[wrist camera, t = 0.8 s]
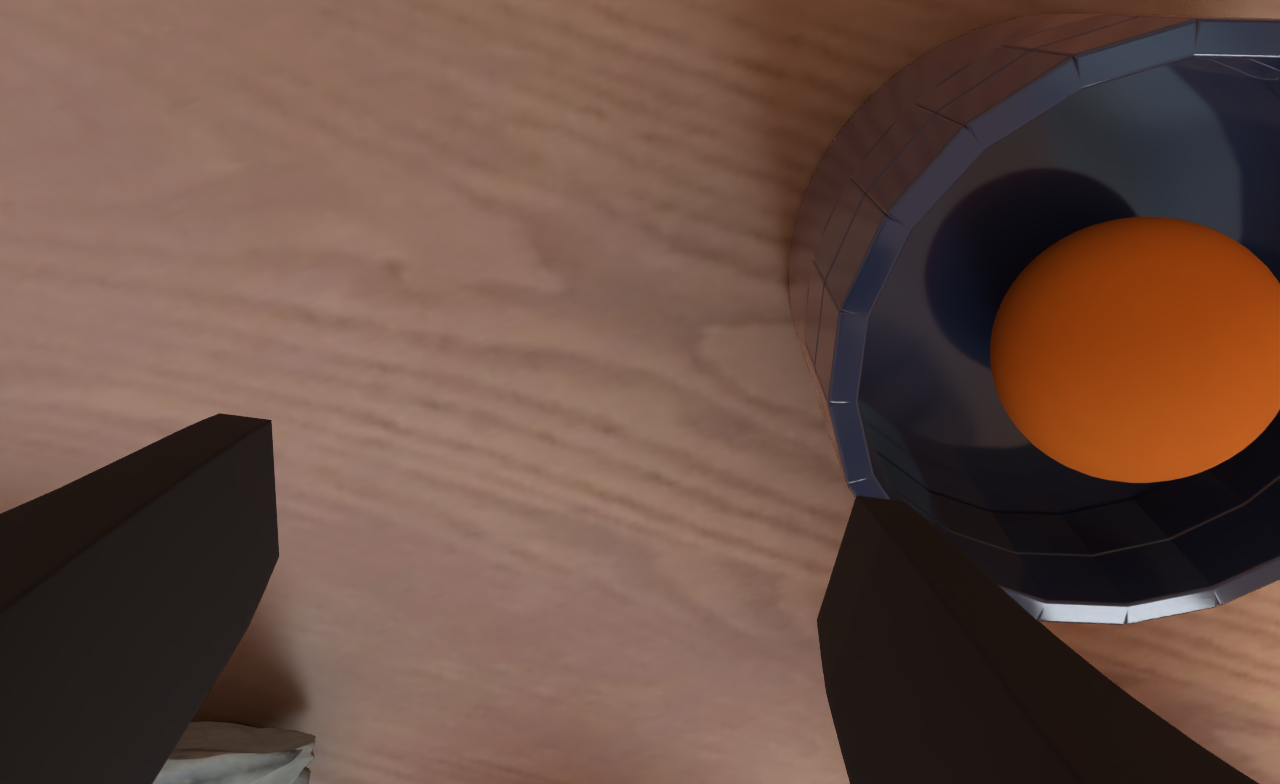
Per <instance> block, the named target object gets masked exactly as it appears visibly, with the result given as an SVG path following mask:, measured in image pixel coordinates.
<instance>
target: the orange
mask: <svg viewBox="0 0 1280 784" xmlns="http://www.w3.org/2000/svg"><path fill="white" fill-rule="evenodd" d="M990 364H991V372H992V377H993V380H994V384H995V387H996V391H997V394H998V397H999V399H1000V401H1001V403H1002V405H1003V407H1004V409H1005V411H1006V412H1007V414H1008V416H1009V417H1010V419H1011V420H1012V422H1013V423H1014V424H1015V426H1016V427H1017V429H1018V430H1019V431H1020V432H1021V433H1022V434H1023V435H1024V436H1025V437H1026V438H1027V439H1028V440H1029V441H1030V442H1031V443H1032V444H1033V445H1034V446H1035V447H1037V448H1038V449H1039V450H1041V451H1042V452H1043V453H1045V454H1046V455H1048V456H1049V457H1051V458H1052V459H1054V460H1056V461H1057V462H1059V463H1061V464H1063V465H1065V466H1066V467H1069V468H1071V469H1074V470H1077V471H1079V472H1082V473H1084V474H1087V475H1090V476H1093V477H1097V478H1101V479H1106V480H1112V481H1120V482H1129V483H1150V482H1160V481H1169V480H1175V479H1179V478H1184V477H1188V476H1191V475H1194V474H1197V473H1200V472H1203V471H1205V470H1207V469H1210V468H1212V467H1215V466H1216V465H1218V464H1220V463H1222V462H1224V461H1226V460H1228V459H1229V458H1231V457H1233V456H1234V455H1236V454H1237V453H1239V452H1240V451H1242V450H1243V449H1244V448H1246V447H1247V446H1248V445H1249V444H1250V443H1252V442H1253V441H1254V440H1255V439H1256V438H1257V437H1258V436H1259V435H1260V434H1261V433H1262V432H1263V431H1264V430H1265V429H1266V428H1267V426H1268V425H1269V424H1270V423H1271V421H1272V420H1273V419H1274V417H1275V416H1276V415H1277V413H1278V411H1279V410H1280V284H1279V282H1278V280H1277V279H1276V277H1275V276H1274V275H1273V274H1272V272H1271V271H1270V270H1269V268H1268V267H1267V266H1266V265H1265V264H1264V263H1263V262H1262V261H1261V260H1260V259H1258V258H1257V257H1256V256H1255V255H1254V254H1253V253H1252V252H1251V251H1250V250H1248V249H1247V248H1246V247H1244V246H1243V245H1241V244H1240V243H1238V242H1236V241H1235V240H1233V239H1232V238H1230V237H1228V236H1226V235H1225V234H1223V233H1220V232H1218V231H1216V230H1214V229H1211V228H1209V227H1206V226H1203V225H1199V224H1196V223H1192V222H1188V221H1185V220H1181V219H1173V218H1165V217H1130V218H1122V219H1116V220H1111V221H1107V222H1103V223H1099V224H1095V225H1092V226H1089V227H1086V228H1084V229H1081V230H1079V231H1076V232H1074V233H1072V234H1070V235H1068V236H1066V237H1064V238H1062V239H1061V240H1059V241H1058V242H1056V243H1055V244H1053V245H1052V246H1050V247H1048V248H1047V249H1046V250H1044V251H1043V252H1042V253H1041V254H1039V255H1038V256H1037V257H1036V258H1035V259H1033V260H1032V261H1031V262H1030V263H1029V264H1028V265H1027V266H1026V267H1025V268H1024V269H1023V271H1022V272H1021V273H1020V274H1019V275H1018V277H1017V278H1016V279H1015V281H1014V282H1013V283H1012V285H1011V287H1010V288H1009V290H1008V292H1007V293H1006V295H1005V296H1004V298H1003V300H1002V303H1001V305H1000V307H999V309H998V311H997V314H996V318H995V321H994V324H993V328H992V335H991V342H990Z"/></svg>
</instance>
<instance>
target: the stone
mask: <svg viewBox="0 0 1280 784" xmlns="http://www.w3.org/2000/svg"><path fill="white" fill-rule="evenodd" d="M315 738H316V737H315V736H313V735H311V734H307V733H302V732H299V731H294V730H284V729H279V728H262V729H260V728H255V727H249V726H245V725H241V724H235V723H226V722H214V721H201V722H190V724H189V725H188V727H187V729H186V730H185V732H184V733H183V735H182V737H181V738H180V740H179V742H178V743H177V745H176V746H175V748H174V750H173V751H172V753H171V755H170V756H169V758H168V759H167V761H166V763H165V764H164V766H163V768H162V769H161V771H160V772H159V774H158V776H157V777H156V779H155V780H154V782H153V784H308V783H309V779H310V770H309V768H307V767H306V766H307V765H308V764H309V763H310V762H311V760H312V759H313V758H314V757H315V756H314V753H313V751H312V748H313V746H314V744H315Z"/></svg>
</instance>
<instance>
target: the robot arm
mask: <svg viewBox="0 0 1280 784" xmlns="http://www.w3.org/2000/svg"><path fill="white" fill-rule="evenodd" d="M278 558H279V546H278V528H277V510H276V493H275V475H274V458H273V440H272V423H271V420H267V419H259V418H251V417H243V416H236V415H228V414H217V415H214V416H212V417H209V418H207V419H204V420H202V421H199V422H197V423H195V424H193V425H190V426H188V427H186V428H184V429H182V430H180V431H177V432H175V433H173V434H171V435H169V436H167V437H165V438H163V439H161V440H159V441H157V442H154V443H152V444H150V445H148V446H146V447H144V448H142V449H140V450H138V451H136V452H134V453H132V454H130V455H128V456H126V457H124V458H121V459H119V460H117V461H115V462H113V463H111V464H109V465H107V466H105V467H103V468H101V469H98V470H96V471H94V472H92V473H90V474H88V475H86V476H84V477H82V478H80V479H78V480H76V481H73V482H71V483H69V484H67V485H65V486H63V487H61V488H59V489H56V490H54V491H52V492H50V493H47V494H45V495H43V496H40V497H38V498H36V499H34V500H31V501H29V502H27V503H24V504H22V505H20V506H18V507H15V508H13V509H11V510H8V511H6V512H4V513H1V514H0V784H153V782H154V780H155V779H156V777H157V776H158V774H159V772H160V771H161V769H162V768H163V766H164V764H165V763H166V761H167V759H168V758H169V756H170V755H171V753H172V751H173V750H174V748H175V746H176V745H177V743H178V742H179V740H180V738H181V737H182V735H183V733H184V732H185V730H186V729H187V727H188V725H189V724H190V722H191V721H192V719H193V717H194V716H195V714H196V712H197V711H198V709H199V708H200V706H201V704H202V703H203V701H204V699H205V698H206V696H207V695H208V693H209V691H210V690H211V688H212V687H213V685H214V683H215V682H216V680H217V678H218V677H219V675H220V673H221V672H222V670H223V668H224V667H225V665H226V663H227V662H228V660H229V658H230V657H231V655H232V654H233V652H234V650H235V649H236V647H237V645H238V644H239V642H240V640H241V638H242V637H243V635H244V633H245V632H246V630H247V628H248V626H249V624H250V622H251V620H252V617H253V615H254V613H255V611H256V609H257V607H258V604H259V602H260V600H261V598H262V596H263V593H264V591H265V588H266V586H267V584H268V581H269V579H270V577H271V574H272V572H273V569H274V567H275V565H276V562H277V560H278ZM817 625H818V634H819V642H820V651H821V660H822V667H823V674H824V681H825V688H826V694H827V698H828V702H829V706H830V710H831V714H832V718H833V721H834V725H835V729H836V733H837V737H838V740H839V744H840V748H841V752H842V755H843V759H844V763H845V766H846V770H847V774H848V777H849V781H850V784H1259V783H1257V782H1256V781H1254V780H1252V779H1251V778H1249V777H1248V776H1246V775H1244V774H1243V773H1241V772H1240V771H1238V770H1236V769H1235V768H1233V767H1232V766H1230V765H1229V764H1227V763H1226V762H1224V761H1223V760H1221V759H1220V758H1218V757H1217V756H1215V755H1214V754H1212V753H1211V752H1209V751H1208V750H1206V749H1205V748H1203V747H1202V746H1200V745H1199V744H1197V743H1196V742H1194V741H1193V740H1192V739H1190V738H1189V737H1187V736H1186V735H1185V734H1183V733H1182V732H1180V731H1179V730H1178V729H1176V728H1175V727H1173V726H1172V725H1171V724H1169V723H1168V722H1166V721H1165V720H1164V719H1162V718H1161V717H1159V716H1158V715H1157V714H1155V713H1154V712H1152V711H1151V710H1150V709H1148V708H1147V707H1145V706H1144V705H1143V704H1141V703H1140V702H1138V701H1137V700H1136V699H1134V698H1133V697H1132V696H1130V695H1129V694H1128V693H1126V692H1125V691H1124V690H1122V689H1121V688H1120V687H1118V686H1117V685H1116V684H1115V683H1113V682H1112V681H1111V680H1109V679H1108V678H1107V677H1105V676H1104V675H1103V674H1102V673H1100V672H1099V671H1098V670H1097V669H1096V668H1094V667H1093V666H1092V665H1091V664H1089V663H1088V662H1087V661H1086V660H1085V659H1083V658H1082V657H1081V656H1080V655H1078V654H1077V653H1076V652H1075V651H1074V650H1072V649H1071V648H1070V647H1069V646H1067V645H1066V644H1065V643H1064V642H1062V641H1061V640H1060V639H1059V638H1058V637H1056V636H1055V635H1054V634H1053V633H1052V632H1051V631H1049V630H1048V629H1047V628H1046V627H1045V626H1044V625H1042V624H1041V623H1040V622H1039V621H1038V620H1037V619H1035V618H1034V617H1033V616H1032V615H1031V614H1030V613H1029V612H1027V611H1026V610H1025V609H1024V608H1023V607H1022V606H1021V605H1019V604H1018V603H1017V602H1016V601H1015V600H1014V599H1013V598H1012V597H1011V596H1009V595H1008V594H1007V593H1006V592H1005V591H1004V590H1003V589H1002V588H1001V587H999V586H998V585H997V584H996V583H995V582H994V581H993V580H992V579H991V578H990V577H988V576H987V575H986V574H985V573H984V572H983V571H982V570H981V569H980V568H979V567H978V566H977V565H975V564H974V563H973V562H972V561H971V560H970V559H969V558H968V557H967V556H966V555H965V554H964V553H962V552H961V551H960V550H959V549H958V548H957V547H956V546H955V545H954V544H953V543H952V542H951V541H949V540H948V539H947V538H946V537H945V536H944V535H943V534H942V533H941V532H940V531H939V530H937V529H936V528H935V527H934V526H933V525H932V524H931V523H930V522H929V521H927V520H926V519H925V518H924V517H923V516H922V515H920V514H919V513H918V512H917V511H916V510H914V509H913V508H912V507H911V506H909V505H908V504H907V503H906V502H904V501H897V500H889V499H882V498H874V497H866V496H858V495H857V496H856V499H855V502H854V505H853V508H852V511H851V514H850V518H849V521H848V524H847V527H846V530H845V533H844V536H843V540H842V543H841V546H840V549H839V552H838V555H837V558H836V562H835V565H834V568H833V571H832V574H831V577H830V580H829V584H828V587H827V590H826V593H825V596H824V599H823V602H822V606H821V609H820V612H819V615H818V618H817Z"/></svg>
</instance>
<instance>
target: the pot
mask: <svg viewBox="0 0 1280 784" xmlns="http://www.w3.org/2000/svg"><path fill="white" fill-rule="evenodd" d="M1130 217H1165V218H1173V219H1181V220H1185V221H1188V222H1192V223H1196V224H1199V225H1203V226H1206V227H1209V228H1211V229H1214V230H1216V231H1218V232H1220V233H1223V234H1225V235H1226V236H1228V237H1230V238H1232V239H1233V240H1235V241H1236V242H1238V243H1240V244H1241V245H1243V246H1244V247H1246V248H1247V249H1248V250H1250V251H1251V252H1252V253H1253V254H1254V255H1255V256H1256V257H1257V258H1258V259H1260V260H1261V261H1262V262H1263V263H1264V264H1265V265H1266V266H1267V267H1268V268H1269V270H1270V271H1271V272H1272V274H1273V275H1274V276H1275V277H1276V279H1277V280H1278V282H1279V284H1280V19H1276V18H1243V17H1211V16H1169V15H1129V14H1098V13H1054V14H1040V15H1034V16H1028V17H1022V18H1015V19H1010V20H1006V21H1003V22H1000V23H996V24H993V25H990V26H986V27H983V28H979V29H976V30H974V31H972V32H969V33H967V34H965V35H962V36H960V37H958V38H956V39H953V40H951V41H949V42H946V43H944V44H942V45H940V46H939V47H937V48H935V49H934V50H932V51H930V52H929V53H927V54H925V55H924V56H922V57H920V58H919V59H917V60H915V61H913V62H912V63H911V64H909V65H908V66H907V67H905V68H904V69H903V70H901V71H900V72H899V73H897V74H896V75H895V76H894V77H892V78H891V79H890V80H888V81H887V82H886V83H884V84H883V85H882V86H881V87H880V88H879V89H878V90H877V91H876V92H875V93H874V94H873V95H872V96H871V97H870V98H869V99H868V100H867V101H866V102H865V103H864V104H863V105H862V106H861V107H859V108H858V110H857V111H856V112H855V113H854V115H853V116H852V117H851V118H850V120H849V121H848V122H847V123H846V124H845V126H844V127H843V128H842V129H841V131H840V132H839V133H838V134H837V136H836V137H835V139H834V140H833V142H832V144H831V145H830V147H829V148H828V150H827V151H826V153H825V155H824V156H823V158H822V159H821V161H820V163H819V164H818V166H817V169H816V171H815V173H814V175H813V177H812V179H811V181H810V183H809V186H808V188H807V190H806V192H805V195H804V198H803V201H802V204H801V207H800V210H799V213H798V216H797V219H796V222H795V227H794V232H793V238H792V243H791V248H790V258H789V276H788V283H789V295H790V307H791V312H792V317H793V321H794V326H795V330H796V334H797V337H798V340H799V343H800V346H801V348H802V351H803V354H804V357H805V360H806V362H807V365H808V368H809V371H810V374H811V377H812V379H813V382H814V385H815V389H816V393H817V398H818V402H819V406H820V410H821V412H822V415H823V418H824V421H825V424H826V427H827V430H828V432H829V435H830V438H831V441H832V444H833V447H834V450H835V453H836V455H837V458H838V461H839V464H840V467H841V470H842V473H843V475H844V478H845V481H846V483H847V485H848V488H849V489H850V490H851V492H852V493H853V495H854V496H855V498H856V496H857V495H858V496H866V497H874V498H882V499H889V500H897V501H904V502H906V503H907V504H908V505H909V506H911V507H912V508H913V509H914V510H916V511H917V512H918V513H919V514H920V515H922V516H923V517H924V518H925V519H926V520H927V521H929V522H930V523H931V524H932V525H933V526H934V527H935V528H936V529H937V530H939V531H940V532H941V533H942V534H943V535H944V536H945V537H946V538H947V539H948V540H949V541H951V542H952V543H953V544H954V545H955V546H956V547H957V548H958V549H959V550H960V551H961V552H962V553H964V554H965V555H966V556H967V557H968V558H969V559H970V560H971V561H972V562H973V563H974V564H975V565H977V566H978V567H979V568H980V569H981V570H982V571H983V572H984V573H985V574H986V575H987V576H988V577H990V578H991V579H992V580H993V581H994V582H995V583H996V584H997V585H998V586H999V587H1001V588H1002V589H1003V590H1004V591H1005V592H1006V593H1007V594H1008V595H1009V596H1011V597H1012V598H1013V599H1014V600H1015V601H1016V602H1017V603H1018V604H1019V605H1021V606H1022V607H1023V608H1024V609H1025V610H1026V611H1027V612H1029V613H1030V614H1031V615H1032V616H1033V617H1034V618H1035V619H1037V620H1038V621H1039V622H1063V623H1088V624H1113V625H1123V624H1133V623H1138V622H1143V621H1148V620H1153V619H1158V618H1163V617H1168V616H1173V615H1178V614H1183V613H1188V612H1193V611H1199V610H1204V609H1209V608H1214V607H1216V606H1217V605H1223V604H1225V603H1228V602H1230V601H1232V600H1234V599H1237V598H1239V597H1241V596H1244V595H1246V594H1248V593H1250V592H1253V591H1255V590H1257V589H1260V588H1262V587H1264V586H1266V585H1269V584H1271V583H1273V582H1276V581H1278V580H1280V410H1279V411H1278V413H1277V415H1276V416H1275V417H1274V419H1273V420H1272V421H1271V423H1270V424H1269V425H1268V426H1267V428H1266V429H1265V430H1264V431H1263V432H1262V433H1261V434H1260V435H1259V436H1258V437H1257V438H1256V439H1255V440H1254V441H1253V442H1252V443H1250V444H1249V445H1248V446H1247V447H1246V448H1244V449H1243V450H1242V451H1240V452H1239V453H1237V454H1236V455H1234V456H1233V457H1231V458H1229V459H1228V460H1226V461H1224V462H1222V463H1220V464H1218V465H1216V466H1215V467H1212V468H1210V469H1207V470H1205V471H1203V472H1200V473H1197V474H1194V475H1191V476H1188V477H1184V478H1179V479H1175V480H1169V481H1160V482H1150V483H1129V482H1120V481H1112V480H1106V479H1101V478H1097V477H1093V476H1090V475H1087V474H1084V473H1082V472H1079V471H1077V470H1074V469H1071V468H1069V467H1066V466H1065V465H1063V464H1061V463H1059V462H1057V461H1056V460H1054V459H1052V458H1051V457H1049V456H1048V455H1046V454H1045V453H1043V452H1042V451H1041V450H1039V449H1038V448H1037V447H1035V446H1034V445H1033V444H1032V443H1031V442H1030V441H1029V440H1028V439H1027V438H1026V437H1025V436H1024V435H1023V434H1022V433H1021V432H1020V431H1019V430H1018V429H1017V427H1016V426H1015V424H1014V423H1013V422H1012V420H1011V419H1010V417H1009V416H1008V414H1007V412H1006V411H1005V409H1004V407H1003V405H1002V403H1001V401H1000V399H999V397H998V394H997V391H996V387H995V384H994V380H993V377H992V372H991V364H990V342H991V335H992V328H993V324H994V321H995V318H996V314H997V311H998V309H999V307H1000V305H1001V303H1002V300H1003V298H1004V296H1005V295H1006V293H1007V292H1008V290H1009V288H1010V287H1011V285H1012V283H1013V282H1014V281H1015V279H1016V278H1017V277H1018V275H1019V274H1020V273H1021V272H1022V271H1023V269H1024V268H1025V267H1026V266H1027V265H1028V264H1029V263H1030V262H1031V261H1032V260H1033V259H1035V258H1036V257H1037V256H1038V255H1039V254H1041V253H1042V252H1043V251H1044V250H1046V249H1047V248H1048V247H1050V246H1052V245H1053V244H1055V243H1056V242H1058V241H1059V240H1061V239H1062V238H1064V237H1066V236H1068V235H1070V234H1072V233H1074V232H1076V231H1079V230H1081V229H1084V228H1086V227H1089V226H1092V225H1095V224H1099V223H1103V222H1107V221H1111V220H1116V219H1122V218H1130Z"/></svg>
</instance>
